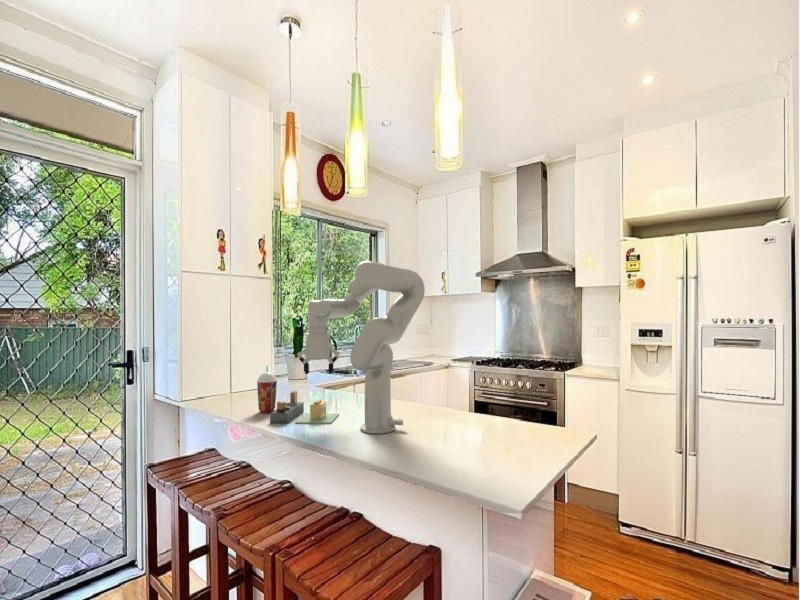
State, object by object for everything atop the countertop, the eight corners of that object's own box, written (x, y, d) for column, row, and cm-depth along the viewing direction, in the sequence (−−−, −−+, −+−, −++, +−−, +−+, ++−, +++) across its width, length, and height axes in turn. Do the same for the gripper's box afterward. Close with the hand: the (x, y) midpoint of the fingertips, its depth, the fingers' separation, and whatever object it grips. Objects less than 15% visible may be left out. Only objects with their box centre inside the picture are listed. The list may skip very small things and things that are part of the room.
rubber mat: (339, 415, 169) (339, 413, 169) (331, 424, 155) (331, 422, 155) (306, 415, 170) (306, 413, 170) (295, 423, 156) (295, 422, 156)
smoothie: (281, 411, 178) (281, 365, 179) (265, 415, 171) (265, 367, 172) (268, 409, 182) (268, 364, 183) (252, 412, 175) (252, 366, 176)
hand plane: (303, 411, 176) (303, 390, 177) (287, 423, 156) (287, 400, 157) (287, 411, 177) (287, 390, 177) (269, 423, 157) (270, 399, 157)
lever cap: (325, 415, 166) (325, 398, 166) (321, 420, 159) (321, 402, 159) (315, 415, 166) (315, 398, 166) (310, 419, 159) (310, 402, 160)
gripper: (341, 330, 167) (341, 372, 166) (300, 331, 168) (300, 372, 167) (337, 330, 160) (337, 374, 159) (294, 331, 161) (294, 375, 160)
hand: (318, 373), depth 163 cm, fingers open, 9 cm apart
